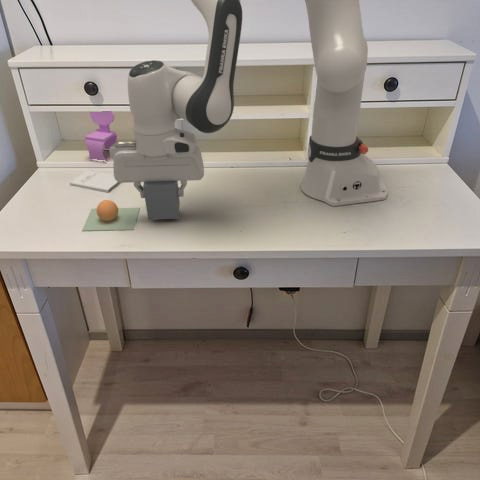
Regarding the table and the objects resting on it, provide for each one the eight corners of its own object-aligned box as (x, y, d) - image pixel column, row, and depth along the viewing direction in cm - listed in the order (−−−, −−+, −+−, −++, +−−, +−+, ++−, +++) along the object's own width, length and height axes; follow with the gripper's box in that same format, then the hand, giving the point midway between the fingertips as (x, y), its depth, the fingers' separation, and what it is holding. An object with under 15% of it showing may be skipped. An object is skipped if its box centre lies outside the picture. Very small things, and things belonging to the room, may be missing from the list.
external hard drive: (109, 195, 125) (70, 187, 128) (125, 181, 131) (88, 174, 135) (108, 189, 124) (69, 181, 127) (125, 176, 130) (87, 169, 134)
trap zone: (139, 208, 117) (139, 207, 117) (133, 230, 109) (133, 229, 109) (91, 209, 117) (91, 208, 117) (82, 231, 109) (81, 230, 109)
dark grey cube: (179, 203, 115) (176, 171, 110) (178, 218, 109) (174, 185, 104) (151, 204, 115) (146, 172, 110) (148, 219, 109) (143, 186, 104)
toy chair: (85, 160, 141) (75, 111, 133) (102, 149, 148) (93, 102, 140) (109, 164, 139) (100, 115, 130) (124, 152, 146) (117, 105, 137)
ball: (104, 216, 116) (123, 210, 115) (100, 227, 111) (119, 221, 111) (95, 199, 113) (114, 193, 112) (90, 210, 109) (110, 204, 108)
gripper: (104, 148, 99) (115, 204, 107) (201, 145, 100) (205, 201, 108) (110, 136, 104) (120, 191, 112) (202, 133, 105) (205, 188, 113)
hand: (162, 196), depth 110 cm, fingers closed on dark grey cube, 7 cm apart
